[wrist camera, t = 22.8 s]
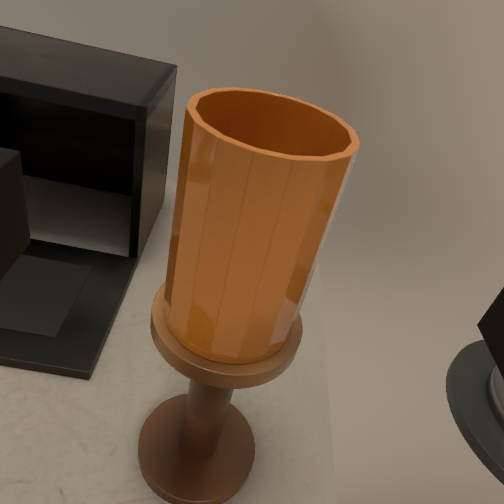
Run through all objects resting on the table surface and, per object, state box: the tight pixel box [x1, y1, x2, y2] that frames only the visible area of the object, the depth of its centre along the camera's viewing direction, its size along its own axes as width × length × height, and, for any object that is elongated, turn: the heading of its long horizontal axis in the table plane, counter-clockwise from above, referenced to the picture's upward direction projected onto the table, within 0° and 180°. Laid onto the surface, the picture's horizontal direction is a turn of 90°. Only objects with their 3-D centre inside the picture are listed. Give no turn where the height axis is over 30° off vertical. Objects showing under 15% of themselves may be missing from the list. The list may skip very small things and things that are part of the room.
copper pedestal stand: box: [138, 282, 302, 504], centre depth 31 cm, size 9×9×15 cm
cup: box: [163, 87, 360, 364], centre depth 23 cm, size 8×8×12 cm
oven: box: [0, 26, 177, 379], centre depth 44 cm, size 26×31×20 cm
